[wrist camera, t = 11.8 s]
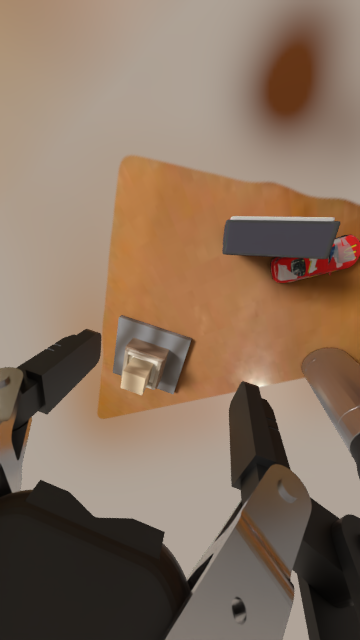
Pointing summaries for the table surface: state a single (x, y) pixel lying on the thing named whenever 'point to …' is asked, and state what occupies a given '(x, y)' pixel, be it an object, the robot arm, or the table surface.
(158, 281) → the table surface
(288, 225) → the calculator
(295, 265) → the race car
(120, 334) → the plate
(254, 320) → the table surface
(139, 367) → the maple cube
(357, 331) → the table surface
